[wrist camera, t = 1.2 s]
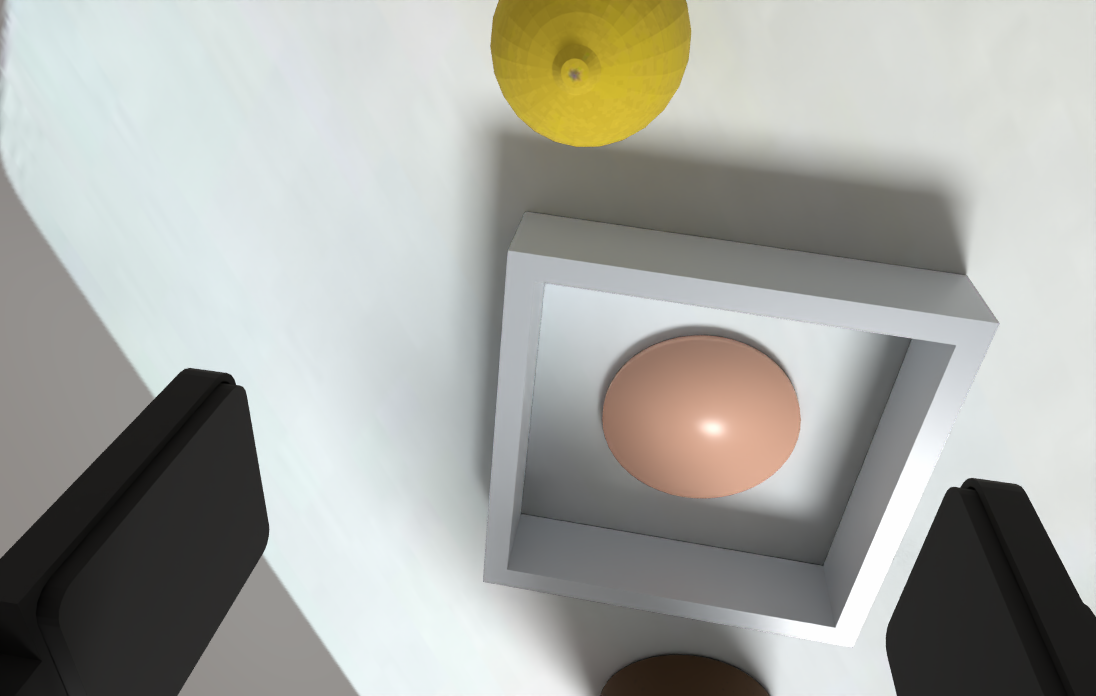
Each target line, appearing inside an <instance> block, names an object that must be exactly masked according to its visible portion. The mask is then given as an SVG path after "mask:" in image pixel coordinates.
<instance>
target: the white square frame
mask: <svg viewBox="0 0 1096 696" xmlns="http://www.w3.org/2000/svg"><path fill="white" fill-rule="evenodd" d="M545 283H548V284H554V285H561V286H568V287H574V288H581V289H587V290H594V291H601V292H607V293H614V294H621V295H627V296H634V297H640V298H647V299H654V300H660V301H667V302H674V303H680V304H687V305H693V306H700V307H707V308H713V309H720V310H727V311H733V312H740V313H746V314H753V315H760V316H766V317H773V318H780V319H786V320H793V321H799V322H806V323H813V324H819V325H826V326H833V327H839V328H846V329H852V330H859V331H866V332H872V333H879V334H885V335H892V336H899V337H905V338H912V340H911V343H910V345H909V348H908V350H907V353H906V356H905V358H904V361H903V363H902V366H901V368H900V371H899V373H898V376H897V379H896V381H895V384H894V386H893V389H892V391H891V394H890V396H889V399H888V401H887V404H886V407H885V409H884V412H883V414H882V417H881V419H880V422H879V424H878V427H877V430H876V432H875V435H874V437H873V440H872V442H871V445H870V447H869V450H868V453H867V455H866V458H865V460H864V463H863V465H862V468H861V470H860V473H859V476H858V478H857V481H856V483H855V486H854V488H853V491H852V493H851V496H850V499H849V501H848V504H847V506H846V509H845V511H844V514H843V516H842V519H841V522H840V524H839V527H838V529H837V532H836V534H835V537H834V539H833V542H832V545H831V547H830V550H829V552H828V555H827V557H826V560H825V562H824V565H823V566H822V565H816V564H810V563H804V562H798V561H792V560H787V559H781V558H775V557H769V556H763V555H758V554H752V553H746V552H740V551H734V550H728V549H723V548H717V547H711V546H705V545H699V544H694V543H688V542H682V541H676V540H670V539H665V538H659V537H653V536H647V535H641V534H635V533H630V532H624V531H618V530H612V529H606V528H601V527H595V526H589V525H583V524H577V523H571V522H566V521H560V520H554V519H548V518H542V517H537V516H531V515H525V514H521V507H522V497H523V488H524V478H525V469H526V459H527V449H528V440H529V430H530V420H531V411H532V401H533V391H534V382H535V372H536V362H537V353H538V343H539V334H540V324H541V314H542V305H543V295H544V285H545ZM999 324H1000V323H999V322H998V320H997V319H996V317H995V316H994V314H993V313H992V311H991V310H990V309H989V307H988V306H987V304H986V303H985V301H984V300H983V298H982V297H981V295H980V294H979V292H978V291H977V289H976V288H975V286H974V285H973V283H972V282H971V280H970V279H969V278H968V276H967V275H960V274H954V273H947V272H940V271H933V270H926V269H919V268H912V267H905V266H898V265H891V264H884V263H878V262H871V261H864V260H857V259H850V258H843V257H836V256H829V255H822V254H815V253H809V252H802V251H795V250H788V249H781V248H774V247H767V246H760V245H753V244H746V243H739V242H733V241H726V240H719V239H712V238H705V237H698V236H691V235H684V234H677V233H670V232H664V231H657V230H650V229H643V228H636V227H629V226H622V225H615V224H608V223H601V222H594V221H588V220H581V219H574V218H567V217H560V216H553V215H546V214H539V213H532V212H525V213H524V215H523V217H522V220H521V222H520V224H519V226H518V229H517V231H516V233H515V235H514V238H513V240H512V242H511V244H510V247H509V249H508V254H507V267H506V280H505V294H504V307H503V321H502V334H501V348H500V361H499V374H498V388H497V401H496V415H495V428H494V441H493V455H492V468H491V482H490V495H489V509H488V522H487V535H486V549H485V562H484V576H483V582H488V583H493V584H499V585H505V586H510V587H516V588H521V589H527V590H533V591H538V592H544V593H549V594H555V595H561V596H566V597H572V598H577V599H583V600H589V601H594V602H600V603H605V604H611V605H616V606H622V607H628V608H633V609H639V610H644V611H650V612H656V613H661V614H667V615H672V616H678V617H684V618H689V619H695V620H700V621H706V622H712V623H717V624H723V625H728V626H734V627H740V628H745V629H751V630H756V631H762V632H768V633H773V634H779V635H784V636H790V637H796V638H801V639H807V640H812V641H818V642H824V643H829V644H835V645H840V646H846V647H852V648H853V646H854V643H855V641H856V639H857V637H858V635H859V632H860V630H861V628H862V626H863V624H864V621H865V619H866V617H867V615H868V613H869V610H870V608H871V606H872V604H873V602H874V599H875V597H876V595H877V593H878V591H879V588H880V586H881V584H882V582H883V580H884V577H885V575H886V573H887V571H888V569H889V566H890V564H891V562H892V560H893V558H894V555H895V553H896V551H897V549H898V547H899V544H900V542H901V540H902V538H903V535H904V533H905V531H906V529H907V527H908V524H909V522H910V520H911V518H912V516H913V513H914V511H915V509H916V507H917V505H918V502H919V500H920V498H921V496H922V494H923V491H924V489H925V487H926V485H927V483H928V480H929V478H930V476H931V474H932V472H933V469H934V467H935V465H936V463H937V461H938V458H939V456H940V454H941V452H942V450H943V447H944V445H945V443H946V441H947V439H948V436H949V434H950V432H951V430H952V428H953V425H954V423H955V421H956V419H957V417H958V414H959V412H960V410H961V408H962V405H963V403H964V401H965V399H966V397H967V394H968V392H969V390H970V388H971V386H972V383H973V381H974V379H975V377H976V375H977V372H978V370H979V368H980V366H981V364H982V361H983V359H984V357H985V355H986V353H987V350H988V348H989V346H990V344H991V342H992V339H993V337H994V335H995V333H996V331H997V328H998V326H999ZM602 421H603V430H604V435H605V439H606V441H607V444H608V446H609V448H610V450H611V452H612V453H613V455H614V457H615V458H616V459H617V461H618V462H619V463H620V464H621V466H622V467H623V468H624V469H626V470H627V471H628V472H629V473H630V474H631V475H632V476H634V477H635V478H636V479H638V480H639V481H641V482H643V483H644V484H646V485H648V486H650V487H652V488H654V489H657V490H659V491H662V492H665V493H668V494H672V495H676V496H681V497H688V498H717V497H723V496H729V495H733V494H736V493H740V492H743V491H745V490H748V489H750V488H752V487H754V486H756V485H758V484H760V483H762V482H763V481H765V480H766V479H768V478H769V477H770V476H772V475H773V474H774V473H775V472H776V471H777V470H778V469H780V468H781V466H782V465H783V464H784V463H785V462H786V460H787V459H788V458H789V456H790V454H791V453H792V451H793V449H794V447H795V445H796V442H797V440H798V436H799V431H800V421H801V418H800V408H799V403H798V400H797V396H796V392H795V390H794V388H793V386H792V383H791V382H790V380H789V379H788V377H787V376H786V374H785V373H784V371H783V370H782V369H781V368H780V367H779V366H778V365H777V364H776V363H775V362H774V361H773V360H772V359H770V358H769V357H768V356H767V355H765V354H763V353H762V352H760V351H759V350H757V349H755V348H753V347H751V346H749V345H747V344H745V343H742V342H739V341H736V340H733V339H728V338H723V337H718V336H708V335H692V336H684V337H677V338H673V339H669V340H665V341H663V342H660V343H657V344H654V345H652V346H650V347H648V348H646V349H644V350H643V351H641V352H640V353H638V354H637V355H635V356H634V357H632V358H631V359H630V360H629V361H628V362H627V363H626V364H624V365H623V367H622V368H621V369H620V370H619V371H618V373H617V374H616V375H615V377H614V378H613V380H612V382H611V383H610V386H609V388H608V390H607V393H606V397H605V401H604V406H603V416H602Z"/></svg>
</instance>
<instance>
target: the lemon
mask: <svg viewBox="0 0 1096 696" xmlns="http://www.w3.org/2000/svg"><path fill="white" fill-rule="evenodd" d="M690 40H691V27H690V20H689V14H688V7H687V2H686V0H499V2H498V5H497V7H496V10H495V13H494V16H493V24H492V34H491V45H490V47H491V54H492V60H493V67H494V74H495V76H496V79H497V81H498V83H499V86H500V88H501V91H502V93H503V96H504V97H505V99H506V100H507V102H508V103H509V105H510V106H511V107H512V109H513V110H514V112H515V113H516V115H517V116H518V117H519V118H520V119H521V120H522V121H524V122H525V123H526V124H527V125H528V126H529V127H530V128H532V129H533V130H534V131H535V132H537V133H539V134H541V135H543V136H545V137H547V138H549V139H551V140H553V141H555V142H559V143H563V144H567V145H571V146H575V147H595V146H603V145H607V144H611V143H614V142H618V141H622V140H624V139H626V138H627V137H629V136H631V135H633V134H635V133H636V132H638V131H640V130H642V129H643V128H645V127H646V126H647V125H648V124H649V123H650V122H651V121H652V120H654V119H655V118H656V117H657V116H658V115H659V114H660V113H661V112H662V111H663V110H664V109H665V108H666V106H667V105H668V103H669V101H670V100H671V98H672V97H673V95H674V94H675V92H676V91H677V89H678V87H679V86H680V83H681V80H682V77H683V74H684V71H685V68H686V66H687V63H688V59H689V50H690Z"/></svg>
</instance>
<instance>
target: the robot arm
mask: <svg viewBox="0 0 1096 696" xmlns="http://www.w3.org/2000/svg"><path fill="white" fill-rule="evenodd" d="M268 537H269V523H268V517H267V511H266V505H265V499H264V493H263V487H262V482H261V476H260V470H259V464H258V458H257V452H256V447H255V441H254V435H253V429H252V423H251V417H250V411H249V406H248V400H247V395H246V391H245V389H244V388H243V387H242V386H239V385H236V383H235V380H234V378H233V377H232V376H231V375H230V374H228V373H222V372H215V371H208V370H201V369H194V368H188V369H184V370H183V371H182V372H180V373H179V374H178V375H177V376H176V377H175V378H174V379H173V380H172V381H171V382H170V383H169V384H168V385H167V387H166V388H165V389H164V390H163V391H162V392H161V393H160V394H159V395H158V396H157V397H156V398H155V399H154V400H153V401H152V402H151V403H150V404H149V405H148V406H147V407H146V408H145V409H144V410H143V411H142V412H141V413H140V415H139V416H138V417H137V418H136V419H135V420H134V421H133V422H132V423H131V424H130V425H129V426H128V427H127V428H126V429H125V430H124V431H123V432H122V433H121V434H120V435H119V436H118V437H117V438H116V440H114V441H113V443H112V444H111V445H110V446H109V447H108V448H107V449H106V450H105V451H104V452H103V453H102V454H101V455H100V456H99V457H98V458H97V459H96V460H95V461H94V462H93V463H92V464H91V466H89V468H87V469H86V471H85V472H84V473H83V474H82V475H81V476H80V477H79V478H78V479H77V480H76V481H75V482H74V483H73V484H72V485H71V486H70V487H69V488H68V489H67V490H66V491H65V492H64V494H62V496H60V497H59V499H58V500H57V501H56V502H55V503H54V504H53V505H52V506H51V507H50V508H49V509H48V510H47V511H46V512H45V513H44V514H43V515H42V516H41V517H40V518H39V519H38V520H37V521H36V522H35V523H34V524H33V526H31V528H30V529H29V530H28V531H27V532H26V533H25V534H24V535H23V536H22V537H21V538H20V539H19V540H18V541H17V542H16V543H15V544H14V545H13V546H12V547H11V548H10V549H9V550H8V551H7V552H6V553H5V555H4V556H3V557H2V558H1V559H0V696H177V695H178V694H179V692H180V690H181V689H182V687H183V685H184V683H185V682H186V680H187V678H188V677H189V675H190V674H191V672H192V670H193V669H194V667H195V665H196V664H197V662H198V660H199V659H200V657H201V656H202V654H203V652H204V651H205V649H206V647H207V646H208V644H209V642H210V641H211V639H212V637H213V636H214V634H215V632H216V631H217V629H218V627H219V626H220V624H221V622H222V621H223V619H224V617H225V616H226V614H227V612H228V611H229V609H230V607H231V606H232V604H233V602H234V601H235V599H236V597H237V596H238V594H239V592H240V591H241V589H242V587H243V586H244V584H245V582H246V581H247V579H248V577H249V576H250V574H251V572H252V571H253V569H254V567H255V566H256V564H257V562H258V560H259V559H260V557H261V556H262V554H263V552H264V550H265V548H266V545H267V542H268ZM886 651H887V656H888V661H889V665H890V669H891V673H892V677H893V681H894V685H895V689H896V693H897V696H1096V617H1095V615H1094V614H1093V612H1092V611H1091V609H1090V608H1089V607H1088V606H1087V605H1085V604H1084V603H1083V602H1082V600H1081V598H1080V596H1079V594H1078V592H1077V590H1076V588H1075V587H1074V585H1073V583H1072V581H1071V579H1070V577H1069V575H1068V573H1067V571H1066V569H1065V567H1064V565H1063V563H1062V561H1061V559H1060V558H1059V556H1058V554H1057V552H1056V550H1055V548H1054V546H1053V544H1052V542H1051V540H1050V538H1049V536H1048V534H1047V532H1046V530H1045V529H1044V527H1043V525H1042V523H1041V521H1040V519H1039V517H1038V515H1037V513H1036V511H1035V509H1034V507H1033V505H1032V503H1031V502H1030V500H1029V498H1028V496H1027V494H1026V492H1025V491H1024V489H1023V488H1022V487H1021V486H1019V485H1017V484H1012V483H1005V482H998V481H990V480H983V479H976V478H969V479H967V480H966V481H965V482H964V483H963V484H962V486H961V488H958V487H951V488H950V489H948V490H947V492H946V494H945V496H944V498H943V500H942V503H941V505H940V507H939V509H938V512H937V514H936V516H935V519H934V521H933V523H932V525H931V528H930V530H929V532H928V535H927V537H926V539H925V541H924V544H923V546H922V548H921V551H920V553H919V555H918V558H917V560H916V562H915V564H914V567H913V569H912V571H911V574H910V576H909V578H908V580H907V583H906V585H905V587H904V590H903V592H902V594H901V596H900V599H899V601H898V603H897V606H896V608H895V610H894V612H893V615H892V617H891V619H890V622H889V624H888V627H887V633H886Z"/></svg>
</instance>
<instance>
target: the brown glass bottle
mask: <svg viewBox="0 0 1096 696" xmlns="http://www.w3.org/2000/svg"><path fill="white" fill-rule="evenodd" d="M601 696H769V694H768V693H767V692H766V690H765V689H764V688H763V687H762V686H761V685H760V684H759V683H758V682H757V681H756V680H754V679H753V678H752V677H750V676H749V675H747V674H746V673H744V672H743V671H741V670H739V669H737V668H735V667H733V666H731V665H728V664H726V663H723V662H720V661H717V660H714V659H710V658H705V657H699V656H692V655H664V656H657V657H651V658H647V659H643V660H640V661H637V662H635V663H633V664H630V665H628V666H626V667H625V668H623V669H621V670H620V671H618V672H617V673H616V674H615V675H613V676H612V677H611V678H610V679H609V681H608V682H607V683H606V685H605V686H604V688H603V690H602V693H601Z"/></svg>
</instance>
